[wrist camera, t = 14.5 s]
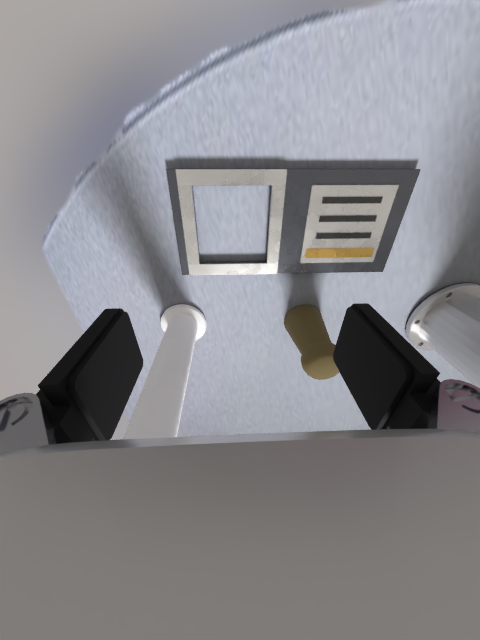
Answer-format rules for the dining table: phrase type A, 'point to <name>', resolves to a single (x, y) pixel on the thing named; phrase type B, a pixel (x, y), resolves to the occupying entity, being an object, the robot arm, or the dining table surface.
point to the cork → (311, 341)
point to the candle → (168, 375)
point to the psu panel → (303, 218)
